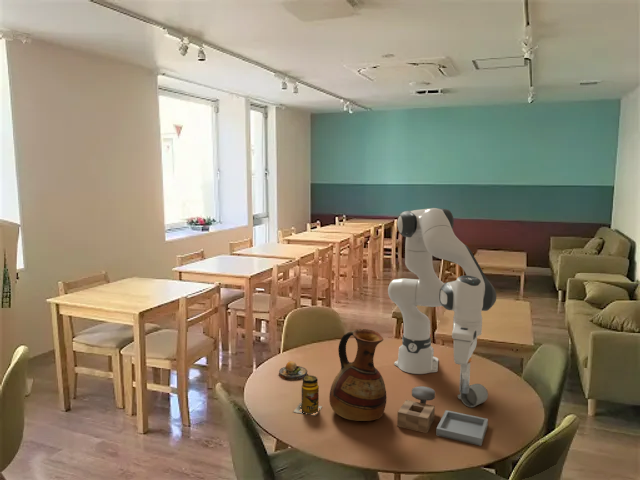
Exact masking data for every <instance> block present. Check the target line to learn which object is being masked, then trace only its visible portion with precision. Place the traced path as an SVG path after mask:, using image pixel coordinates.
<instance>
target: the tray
mask: <svg viewBox="0 0 640 480" xmlns="http://www.w3.org/2000/svg"><path fill="white" fill-rule="evenodd" d="M488 423H489V419H488V418H485V417H481V416H477V415H476V416H475V415H471V414H465V413H462V412H456V411H452V410H447V409H446V410H444V413H443V414H442V416H441V419H440V421H439V423H438V424H437V427H436V431H435V434H436V437H437V436H438V437H443V438H446V439H451V440H456V441H458V442H461V443H462V442H463V443H467V444H471V445H476V446H480V447H482V444H483V443H484V442H483V441H484V439H485V435H486V433H487V430H488V426H489V424H488Z"/></svg>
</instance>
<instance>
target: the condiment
mask: <svg viewBox="0 0 640 480" xmlns="http://www.w3.org/2000/svg"><path fill="white" fill-rule="evenodd" d="M318 380H319V379H318V377H316V376H315V375H307V376H305V377H304V378H302V385H301V402H300V403H299V404H298V405H297V407H296V408H295V409H294V410H293V413H296V414H303V413H302V412H304V413H307V414H313V413H316V412H318V408H320V410H321V409H322V408H323V406H322V405H319V404H320V402H319V388H320V386H319V384H318V383H319V382H318ZM300 406H301V407H300ZM300 409H302V412H300V411H299V410H300ZM318 413H319V412H318ZM318 413H317V414H315V415H313V416H314V417H315V416H317V415H318ZM307 414H306V415H307ZM303 415H304V414H303Z"/></svg>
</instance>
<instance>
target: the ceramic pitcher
mask: <svg viewBox="0 0 640 480" xmlns="http://www.w3.org/2000/svg"><path fill="white" fill-rule="evenodd" d="M351 336H352V337H354V339H355V341H356V343H357V344H356V345H357V351H356V355H355V358H354V360H353V361H352V362H350V361H349V360H348V354H347V343H348V341H349V339H350V337H351ZM383 341H384V337H383V336H382V335H381V334H380V333H379V332H377V331H375V330H372V329H368V328H367V329H366V328H363V329H362V328H358V329H357V328H356V329H355V330H352V331H349V332H345V334H344V335H343V336H342V337H341V339H340V341H339V344H338V348H337V349H338V356H339V361H340V367H341V368H340V370H339V371H338V373H337V375H336V376H335V378H334V380H333V382H332V383H331V386H330V390H329V396H328V397H329V400H328V401H329V405H330V407H331V408H332V410H333V412H334V413H335V414H336V415H338V416H340V417H342V418H344V419H347V420H349V421H358V422H359V421H361V422H362V421H363V422H365V421H367V422H368V421H374V420H378V419H380V418H382V416H383V414H384V413H385V409H386V406H387V398H388V397H387V389H386V384H385V381H384V378H383V376H382V374H381V372H380V370H378V369H377V368H376V367H375V365H374V358H375V352H376V348H377V347H378V345H379V344H380V343H382V342H383Z"/></svg>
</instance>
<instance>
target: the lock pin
mask: <svg viewBox="0 0 640 480" xmlns="http://www.w3.org/2000/svg"><path fill="white" fill-rule="evenodd" d="M472 361H473V358H472V356H471V357H470V359H469V361H468V363H467V371H466V372H462V371H461V366H460V369H459V370H460V372H459V388H458V389H459V391H458V392H459V393H460V392H461V393H464V394H467V393H469V385H470V380H471V379H470V376H471V362H472Z"/></svg>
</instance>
